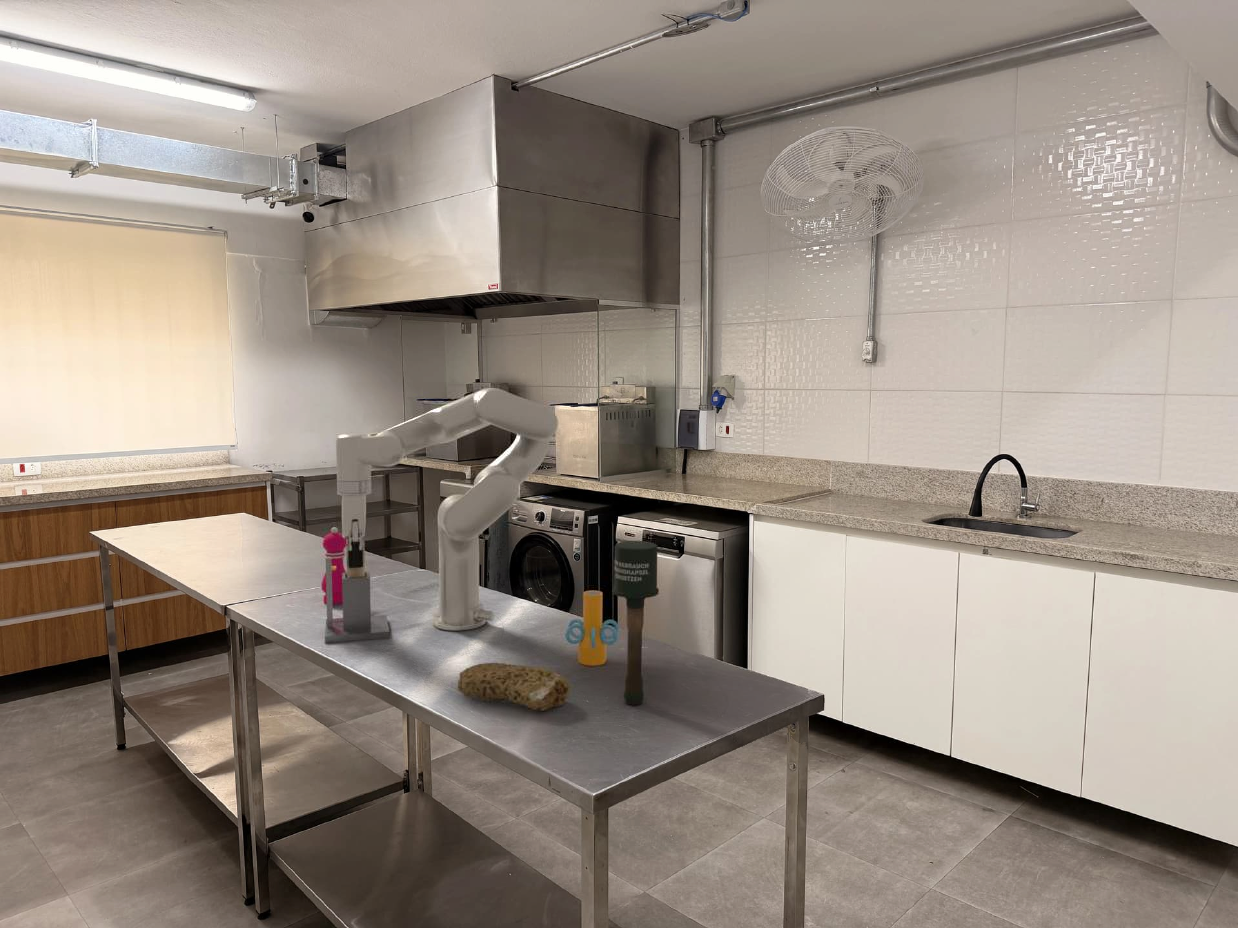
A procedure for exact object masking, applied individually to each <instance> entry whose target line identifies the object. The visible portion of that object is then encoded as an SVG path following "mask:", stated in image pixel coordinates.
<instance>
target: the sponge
mask: <svg viewBox="0 0 1238 928" xmlns="http://www.w3.org/2000/svg"><path fill="white" fill-rule="evenodd" d="M457 681H458V682H457V686H456V688H457V690H458V691H460V692H461V694H463V695H464V696H465V697H467V698H471V699H475V700H480V701H484V702H489V703H490V702H494V703H503V702H502V701H506V703H507V701H510V702H509V703H515V704H519V705H522V706H526V707H528V708H529V709H531V710H533V711H541V712H543V711H547V710H550V709H551V708H553V707H554V706H558V707H561V706H563V704H564V703H565V702H566V699H567V697H568V694H569V693H570V682H569V681H568V680H567V679H566V678H565V677H563V676H562V675H561V674H557V673H555V672H554V671H551V670H548V669H546V668H541V667H537V666H536V667H535V666H528V665H517V664H511V663H510V664H509V663H499V662H486V663H485V662H484V663H478V664H475V665H472V666H470V667H467V668H466V669H464V670H463V671H461V672H460V673H459V679H458V680H457ZM560 705H561V706H560Z"/></svg>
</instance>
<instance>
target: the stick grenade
mask: <svg viewBox="0 0 1238 928" xmlns="http://www.w3.org/2000/svg"><path fill="white" fill-rule="evenodd" d="M613 579H614V582H613V587H612V590H611V592H612V594H613V595H615V596H616V597H621V598H624V599H625V600H626V601H625V602H626V627H627V646H626V647H627V653H626V657H627V658H626V659H627V662H626V663H627V667H626V676H625V680H624V682H625V683H624V684H625V685H624V692H623V693H624V694H623V699H624V702H625V703H626V704H627V703H628V704H627V705H629V704H630V705H631V706H638V704H639V705H641V704H642V703H643V701H644V696H645V695H644V680H643V679H644V678H643V675H642V660H643V659H642V656H643V654H642V653H643V652H642V651H643V649H642V648H643V628H644V623H645V622H644V616H645V612H644V611H645V600H646V599H650V598H653V597H656V596H657V595H659V592H660V591H659V590H660V589H659V588H658V586H657V585H658V545H657V544H656V543H654V542H650V541H646V540H645V541H644V540H625V541H620V542H617V543H616V544H615V546H614V578H613ZM640 703H641V704H640Z"/></svg>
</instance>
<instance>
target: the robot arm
mask: <svg viewBox="0 0 1238 928" xmlns="http://www.w3.org/2000/svg"><path fill="white" fill-rule="evenodd" d="M490 425H491V426H495V427H496V428H500V429H502V430H505V431H508V432H510V433H513V434H516V437H515V439H514V441H513V443H512V444H511V445H510V446H509V447H508V448H507V449H506V450H505V451H504V452H503V453H502V454H500V455H499V457H497V458H495V460H494V461H492V462H491V463H489V465H488V466H486V467H485V468H484V469H482V470H481V471H480V472H479V473H478V474H477V475H476V477H475V478H474V481H473V486H472V487H471V488H470V489H469V490H467V491H466V493H464V494H459V493H457V494H453V495H452V494H451V495H450V496H447V497H446V498H445V499H444V500H443V501H442V502H441V503H440V505H439V508H438V509H437V511H438V512H437V531H438V532H437V533H438V555H439V556H438V584H439V585H438V587H439V591H438V593H439V594H438V595H439V604H438V605H439V614H438V615H437V616H435V617H434V618H433V621H432V624H433V626H434V627H435V628H437V629H441V630H445V631H469V630H474V629H477V628H480V627H482V626H483V625H485V624H486V622H487V621H490V622H493V621H494V618H495V617H494V616H495V614H494V610H491V609H490V610H487V609H484V604H483V603H480V543H479V542H480V540H479V539H480V538H479V536H480V535H481V534H482V533H484V531H485V530H487V529H489V527H490V526H492V524H494V523H495V522H496V521H497V520H499V518H501V517H502V516H503V515H504V514H505V513H506V512H507V511H508V510H510V509H511V508H512V506H513V505H514V504H515V502H516V501H517V499H518V496H519V492H520V486H521V485H522V484H523V483H524V482H525V481H526V480H527V479H528V478H529V477H530V476H531V475H532V474H533V473H534V472H535V471H536V470H537V469H538V468H539V467H540V466H541V464H542V463H543V461H544V460H545V459H546V456H547V453H548V450H549V445H550V439H551V438H552V437H553V436H554V435H555V434H556V432H557V430H558V426H559V420H558V417H557V414H556V413H555V412H554V411H553V409H551V408H550V407H549V406H547V405H544V404H540V403H537V402H535V401H532V400H529V399H526V398H523V397H521V396H518V395H515V394H513V393H511V392H509V391H508V392H507V391H505V390H504V389H501V388H495V387H486V388H482V389H480V390H477V391H475V392H473V393H470V394H468V395H466V396H463V397H461V398H458V399H456V400H454V401H452V402H449V403H447V404H444V405H442V406H438V407H437V408H434V409H432V410H430V411H428V412H426V413H424V414H421V415H419V416H417V417H414V418H412V419H409V420H407V421H405V422H402V423H400V424H397V425H395V426H393V427H390V428H388V429H386V430H383V431H381V432H379V433H377V434H376V435H370V436H369V435H367V434H363V433H343V434H340V435H338V436H337V438H336V441H335V444H336V445H335V447H336V448H335V451H336V452H335V453H336V489H337V490H336V491H337V492H336V493H337V495H338V496H341V529H342V530H341V531H342V533H341V534H342V537H343V538H346V537H348V540H349V551H348V562H349V568H360V567H363V550H362V539H363V538H364V537H365V534H366V522H367V520H366V519H367V518H366V517H367V495H370V494H372V471H371V470H372V465H373V466H378V467H379V466H380V467H394V466H396V465H399V463H400V462H401V461H402V460H403V459H404V457H405V456H407V455H409V454H412V453H414V452H416V451H419V450H421V449H425V448H428V447H431V446H434V445H435V446H436V445H440V444H441V445H442V444H446V443H450V442H454V441H456V440H458V439H460V438H462V437H465V436H468V435H470V434H472V433H474V432H476V431H479V430H481V429H483V428H486V427H488V426H490ZM351 540H353V541H351Z"/></svg>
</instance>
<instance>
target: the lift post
mask: <svg viewBox="0 0 1238 928" xmlns="http://www.w3.org/2000/svg"><path fill="white" fill-rule="evenodd" d="M351 541H353V540H351ZM365 544H366V543H365V538H362V550H363V567H360V568H349V562H348V551H349V539H346V547H345V549H346V551H345V553H346V573H347V578H358V577H365V572H366V555H365V554H366V553H365V552H366V551H365V550H366V549H365Z"/></svg>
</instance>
